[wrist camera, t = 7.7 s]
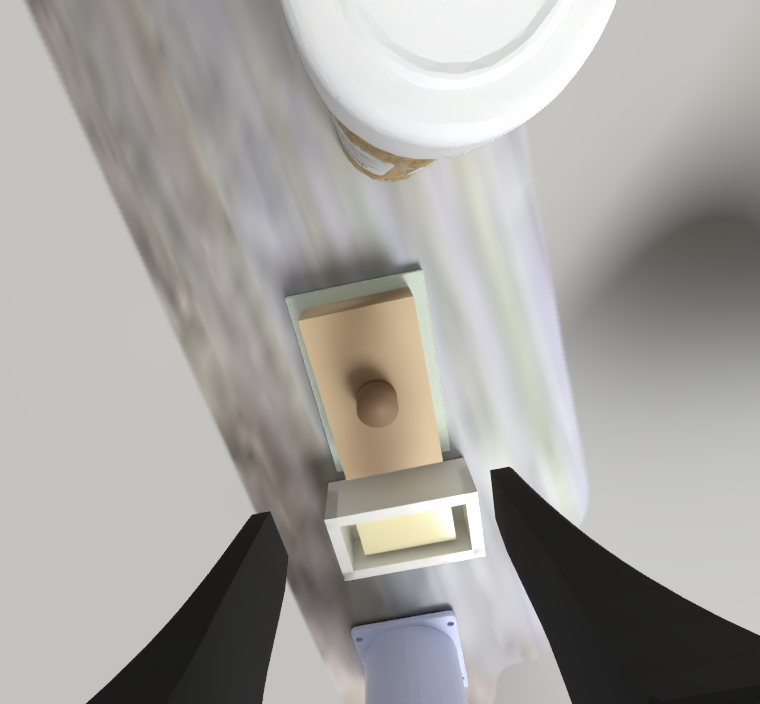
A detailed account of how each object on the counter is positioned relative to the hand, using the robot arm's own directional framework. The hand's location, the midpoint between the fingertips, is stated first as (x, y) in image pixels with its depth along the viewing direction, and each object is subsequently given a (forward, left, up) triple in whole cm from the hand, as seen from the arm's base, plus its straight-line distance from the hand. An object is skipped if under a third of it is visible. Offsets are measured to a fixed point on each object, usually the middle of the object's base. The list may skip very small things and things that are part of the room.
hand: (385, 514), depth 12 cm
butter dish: (-9, 0, -10) cm, 13 cm away
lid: (0, 0, -10) cm, 10 cm away
